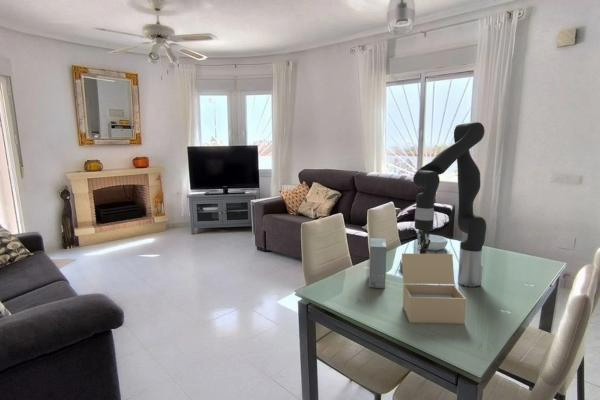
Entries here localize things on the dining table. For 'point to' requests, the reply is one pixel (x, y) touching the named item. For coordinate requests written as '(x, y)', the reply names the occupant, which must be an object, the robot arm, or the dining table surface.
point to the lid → (428, 268)
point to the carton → (434, 304)
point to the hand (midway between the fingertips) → (422, 256)
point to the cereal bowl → (437, 242)
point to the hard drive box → (377, 263)
